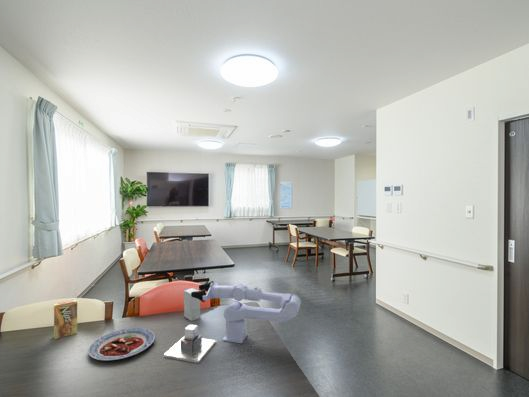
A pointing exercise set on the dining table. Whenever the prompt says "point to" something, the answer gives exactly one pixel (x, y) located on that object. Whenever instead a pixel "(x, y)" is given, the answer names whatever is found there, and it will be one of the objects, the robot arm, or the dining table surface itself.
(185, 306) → the skincare box
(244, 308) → the robot arm
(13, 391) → the dining table surface
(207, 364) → the dining table surface
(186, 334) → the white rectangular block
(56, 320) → the candy box
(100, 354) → the ceramic plate
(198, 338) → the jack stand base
